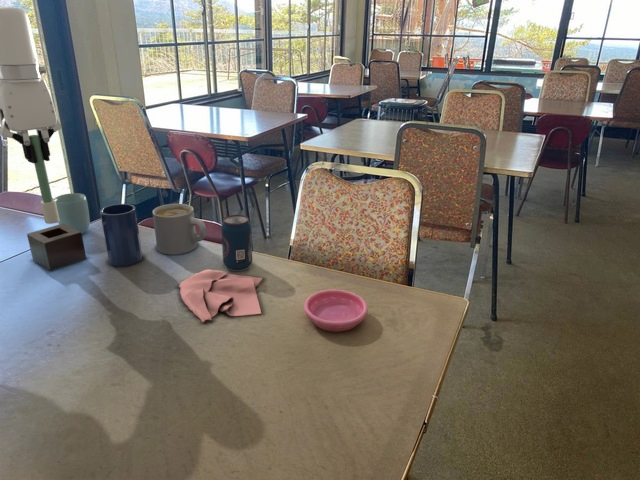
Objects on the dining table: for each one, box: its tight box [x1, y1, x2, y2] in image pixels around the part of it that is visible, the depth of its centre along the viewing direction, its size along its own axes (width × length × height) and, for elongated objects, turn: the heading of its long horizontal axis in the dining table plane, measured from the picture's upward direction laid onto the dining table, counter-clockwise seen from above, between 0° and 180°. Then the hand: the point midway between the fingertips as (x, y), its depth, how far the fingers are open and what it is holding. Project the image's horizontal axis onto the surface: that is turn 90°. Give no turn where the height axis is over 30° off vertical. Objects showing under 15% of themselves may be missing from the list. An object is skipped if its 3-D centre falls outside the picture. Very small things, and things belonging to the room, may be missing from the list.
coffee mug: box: [152, 203, 207, 255], centre depth 122 cm, size 13×10×10 cm
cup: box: [53, 192, 91, 234], centre depth 129 cm, size 8×8×10 cm
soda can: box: [220, 214, 253, 272], centre depth 113 cm, size 7×7×12 cm
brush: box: [29, 134, 60, 225], centre depth 108 cm, size 3×3×20 cm
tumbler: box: [99, 203, 143, 267], centre depth 114 cm, size 8×8×13 cm
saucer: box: [303, 289, 369, 333], centre depth 94 cm, size 12×12×3 cm
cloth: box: [178, 268, 263, 323], centre depth 101 cm, size 20×22×2 cm
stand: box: [26, 224, 87, 272], centre depth 115 cm, size 9×9×7 cm
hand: (38, 160), depth 106 cm, fingers closed on brush, 2 cm apart
